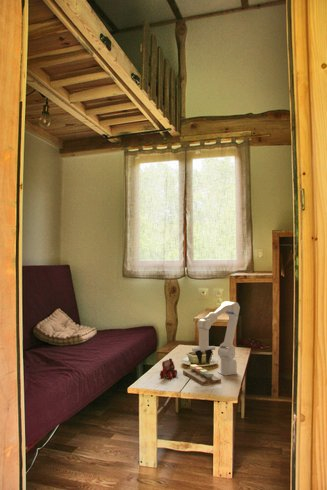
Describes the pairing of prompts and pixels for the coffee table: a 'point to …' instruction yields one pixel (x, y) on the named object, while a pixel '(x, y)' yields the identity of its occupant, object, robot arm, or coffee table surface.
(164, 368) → the dark red teddy bear
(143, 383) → the coffee table surface
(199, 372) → the pale green cube
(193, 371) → the cream key
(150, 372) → the coffee table surface
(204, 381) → the brown wooden board
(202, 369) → the terracotta key
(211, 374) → the pale grey cube
